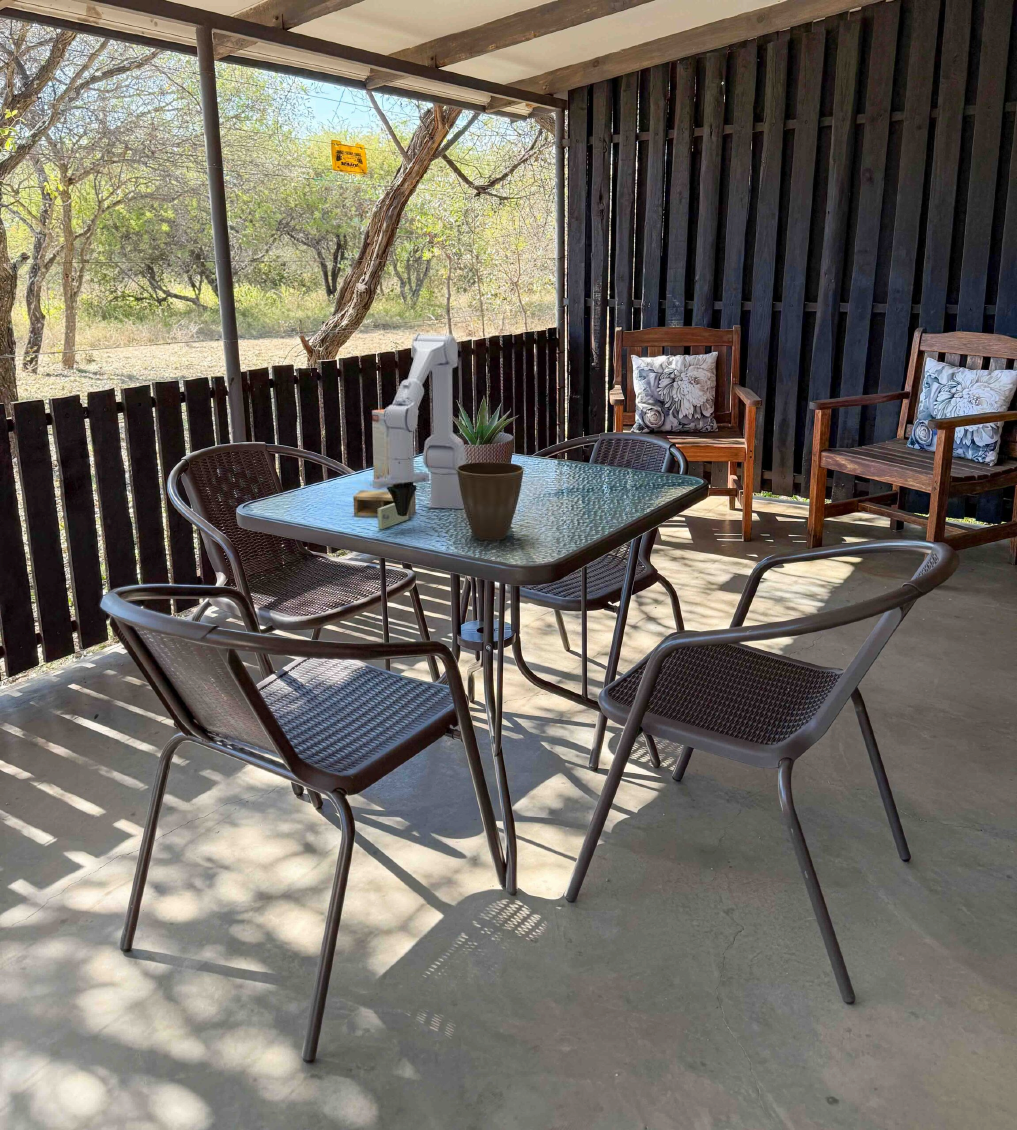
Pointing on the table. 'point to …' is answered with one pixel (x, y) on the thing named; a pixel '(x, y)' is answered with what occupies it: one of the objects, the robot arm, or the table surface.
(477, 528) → the plant pot
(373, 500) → the tan wooden crate
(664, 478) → the table surface
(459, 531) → the table surface
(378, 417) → the cracker box
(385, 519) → the door
